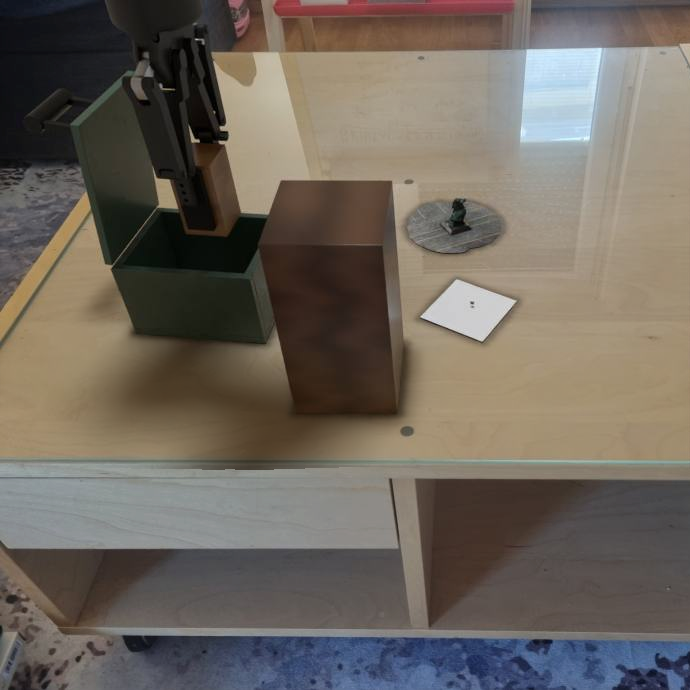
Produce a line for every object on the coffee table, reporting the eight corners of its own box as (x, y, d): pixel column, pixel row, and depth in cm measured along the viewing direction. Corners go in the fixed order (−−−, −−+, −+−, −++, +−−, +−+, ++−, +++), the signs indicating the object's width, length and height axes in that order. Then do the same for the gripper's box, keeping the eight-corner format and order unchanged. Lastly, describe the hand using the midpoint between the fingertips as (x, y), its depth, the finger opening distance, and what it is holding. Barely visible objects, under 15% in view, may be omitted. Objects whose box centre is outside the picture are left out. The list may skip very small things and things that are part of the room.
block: (227, 237, 76) (209, 166, 70) (185, 234, 76) (164, 163, 71) (241, 213, 79) (225, 144, 74) (201, 210, 79) (182, 141, 74)
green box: (295, 278, 89) (282, 215, 83) (265, 343, 80) (249, 278, 74) (177, 269, 90) (157, 207, 84) (135, 333, 82) (110, 268, 76)
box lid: (136, 71, 73) (64, 59, 73) (78, 125, 65) (-2, 112, 65) (159, 204, 84) (97, 193, 84) (112, 266, 75) (43, 253, 75)
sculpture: (515, 219, 99) (501, 198, 91) (486, 281, 98) (469, 266, 91) (439, 189, 103) (418, 167, 95) (410, 249, 102) (388, 232, 95)
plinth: (295, 413, 73) (257, 244, 59) (311, 343, 80) (280, 179, 67) (397, 413, 73) (382, 245, 59) (404, 344, 80) (392, 180, 67)
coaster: (419, 317, 83) (419, 311, 83) (456, 279, 88) (456, 273, 88) (482, 341, 80) (482, 336, 80) (516, 301, 85) (517, 295, 85)
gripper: (144, 9, 54) (216, 267, 70) (226, -58, 67) (272, 173, 83) (47, 6, 55) (140, 262, 71) (146, -61, 68) (207, 169, 84)
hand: (211, 213), depth 77 cm, fingers closed on block, 4 cm apart
